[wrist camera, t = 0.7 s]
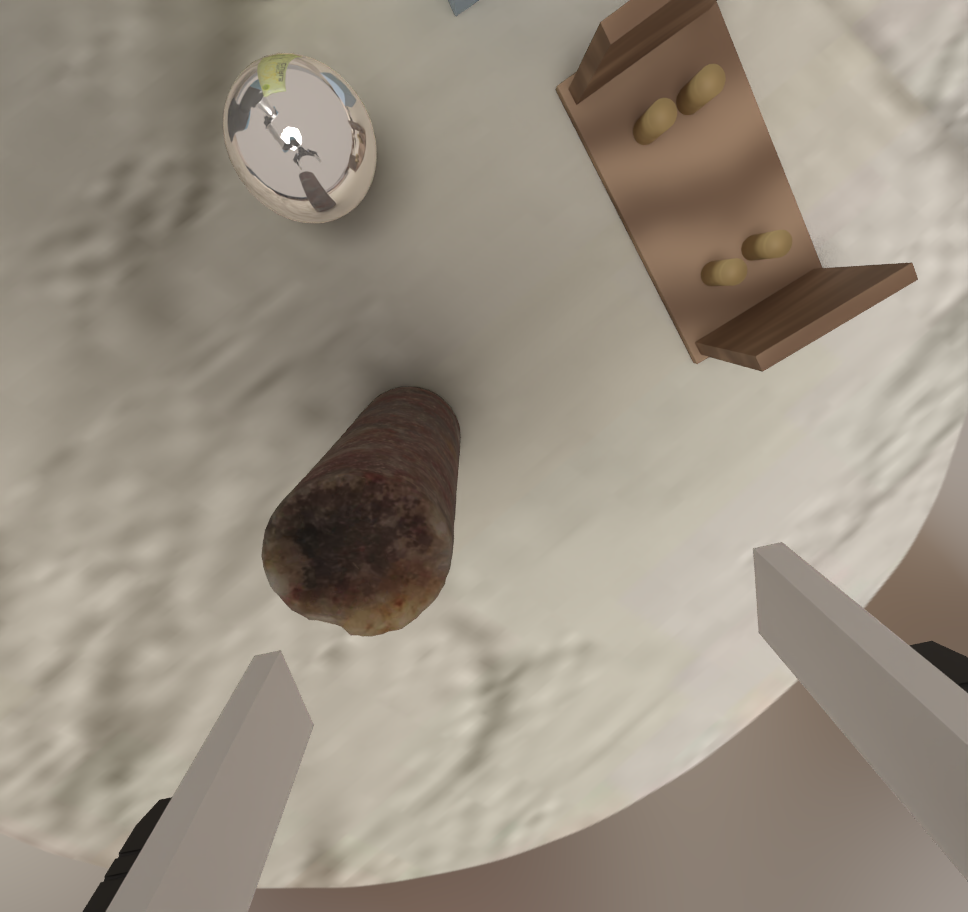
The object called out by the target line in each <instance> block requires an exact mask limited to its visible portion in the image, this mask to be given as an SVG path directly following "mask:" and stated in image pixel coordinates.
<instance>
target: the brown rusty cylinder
mask: <svg viewBox="0 0 968 912" xmlns="http://www.w3.org/2000/svg"><path fill="white" fill-rule="evenodd" d="M460 438H461V437H460V428H459V424H458V421H457V418H456V416H455V415H454V413H453V411H452V409H451V408H450V407H449V405H448V404H447V403H446V402H445V401H444V400H443V399H442V398H441V397H439V396H438V395H437V394H435V393H433V392H430V391H428V390H424V389H421V388H417V387H398V388H395V389H392V390H389V391H387V392H385V393H383V394H381V395H380V396H378V397H377V398H375V399H374V400H373V401H372V403H371V404H369V405H368V407H367V408H366V409H365V410H364V411H363V412H362V413H361V414H360V415H359V416H358V418H357V419H356V420H355V421H354V422H353V424H352V425H351V426H350V427H349V428H348V429H347V430H346V432H345V433H344V434H343V435H342V436H341V438H340V439H339V440H338V441H337V442H336V443H335V444H334V445H333V446H332V448H331V449H330V450H329V451H328V452H327V453H326V454H325V455H324V457H323V458H322V459H321V460H320V461H319V462H318V463H317V464H316V465H315V466H314V467H313V468H312V470H311V471H310V472H309V473H308V474H307V475H306V477H304V478H303V479H302V480H301V481H300V482H299V484H298V485H297V486H296V487H295V488H294V489H293V490H292V491H291V492H290V493H289V494H288V495H287V496H286V497H285V498H284V499H283V501H282V502H281V503H280V504H279V506H278V507H277V508H276V510H275V511H274V513H273V514H272V516H271V518H270V520H269V522H268V525H267V527H266V529H265V534H264V540H263V547H262V560H263V567H264V570H265V573H266V576H267V579H268V581H269V584H270V586H271V587H272V589H273V590H274V592H276V593H277V594H278V595H279V596H280V598H281V599H282V600H283V601H284V602H285V604H286V605H287V606H288V607H289V608H290V609H291V610H293V611H295V612H297V613H299V614H301V615H302V616H304V617H306V618H308V619H309V620H319V621H323V622H327V623H331V624H336V625H339V626H341V627H343V628H344V629H345V630H346V631H347V632H348V633H349V634H350V635H360V636H375V635H380V634H384V633H386V632H388V631H394V630H399V629H402V628H403V627H405V626H406V625H407V624H409V623H410V622H412V621H413V620H414V619H416V618H417V617H418V616H419V615H420V614H421V613H422V611H424V610H425V609H426V608H427V607H428V606H429V605H430V604H431V603H432V602H433V601H434V600H435V599H436V598H437V597H438V595H439V593H440V591H441V589H442V588H443V586H444V584H445V580H446V577H447V575H448V573H449V570H450V565H451V559H452V553H453V543H454V520H455V508H456V491H457V478H458V467H459V456H460Z"/></svg>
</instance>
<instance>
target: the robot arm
mask: <svg viewBox="0 0 968 912" xmlns="http://www.w3.org/2000/svg"><path fill="white" fill-rule="evenodd" d="M753 554H754V569H755V584H756V599H757V614H758V629H759V634H760V635H761V636H762V637H763V638H764V639H765V641H766V642H767V643H768V644H769V645H770V647H771V648H772V649H773V650H774V651H775V653H776V654H777V655H778V656H779V657H780V659H781V660H782V661H783V662H784V663H785V664H786V666H787V667H788V668H789V669H790V670H791V672H792V673H793V674H794V675H795V676H796V678H797V679H798V680H799V681H800V682H801V684H803V686H804V687H805V688H806V689H807V691H808V692H809V693H810V694H811V695H812V697H813V698H814V699H815V700H816V701H817V703H818V704H819V705H820V706H821V707H822V709H823V710H824V711H825V712H826V713H827V714H828V715H829V717H830V718H831V719H832V720H833V722H834V723H835V724H836V725H837V726H838V727H839V729H840V730H841V731H842V732H843V734H844V735H845V736H846V737H847V738H848V739H849V741H850V742H851V743H852V744H853V745H854V747H855V748H856V749H857V750H858V751H859V752H860V754H861V755H862V756H863V757H864V758H865V760H866V761H867V762H868V763H869V764H870V766H871V767H872V768H873V769H874V770H875V772H876V773H877V774H878V775H879V776H880V778H881V779H882V780H883V781H884V782H885V783H886V785H887V786H888V787H889V788H890V789H891V791H892V792H893V793H894V794H895V795H896V797H897V798H898V799H899V800H900V801H901V803H902V804H903V805H904V806H905V807H906V808H907V810H908V811H909V812H910V813H911V814H912V816H913V817H914V818H915V819H916V820H917V822H918V823H919V824H920V825H921V826H922V828H923V829H924V830H925V831H926V832H927V834H928V835H929V836H930V837H931V838H932V839H933V841H934V842H935V843H936V844H937V845H938V847H939V848H940V849H941V850H942V851H943V852H944V854H945V855H946V856H947V857H948V859H949V860H950V861H951V862H952V863H953V864H954V865H955V867H956V868H957V869H958V870H959V872H960V873H961V874H962V875H963V876H964V878H965V879H966V880H967V881H968V658H967V657H966V656H964V655H962V654H959V653H957V652H955V651H953V650H951V649H948V648H946V647H944V646H942V645H940V644H937V643H935V642H933V641H929V642H924V643H920V644H914V645H908V644H907V643H905V642H904V641H903V640H902V639H900V638H899V637H898V636H897V635H895V634H894V633H893V632H891V630H889V629H888V628H887V627H886V626H884V625H883V624H882V623H881V622H880V621H878V620H877V619H876V618H875V617H873V616H872V615H871V614H869V612H867V611H866V610H865V609H864V608H862V607H861V606H860V605H859V604H857V603H856V602H855V601H854V600H853V599H851V598H850V597H849V596H848V595H846V594H845V593H844V592H843V591H841V590H840V589H839V588H838V587H837V586H835V585H834V584H833V583H832V582H830V581H829V580H828V579H827V578H825V577H824V576H823V575H822V574H821V573H819V572H818V571H817V570H816V569H814V568H813V567H812V566H811V565H809V564H808V563H807V562H806V561H805V560H803V559H802V558H801V557H800V556H798V555H797V554H796V553H795V552H793V551H792V550H791V549H790V548H789V547H787V546H786V545H785V544H784V543H782V542H781V543H776V544H771V545H767V546H762V547H757V548H753ZM313 726H314V724H313V722H312V720H311V717H310V715H309V713H308V711H307V708H306V706H305V704H304V702H303V699H302V697H301V695H300V693H299V690H298V688H297V686H296V684H295V681H294V679H293V677H292V675H291V672H290V670H289V668H288V666H287V663H286V661H285V659H284V656H283V654H282V652H281V650H280V651H275V652H271V653H266V654H261V655H257V656H254V658H253V659H252V661H251V663H250V664H249V666H248V668H247V670H246V671H245V673H244V675H243V676H242V678H241V680H240V682H239V683H238V685H237V687H236V689H235V690H234V692H233V694H232V695H231V697H230V699H229V701H228V702H227V704H226V706H225V707H224V709H223V711H222V713H221V714H220V716H219V718H218V719H217V721H216V723H215V725H214V726H213V728H212V730H211V731H210V733H209V735H208V737H207V738H206V740H205V742H204V744H203V745H202V747H201V749H200V750H199V752H198V754H197V756H196V757H195V759H194V761H193V762H192V764H191V766H190V768H189V769H188V771H187V773H186V774H185V776H184V778H183V780H182V781H181V783H180V785H179V786H178V788H177V790H176V792H175V793H174V795H173V797H171V798H166V799H161V800H159V801H158V802H157V803H156V804H155V805H154V806H153V808H152V809H151V810H150V811H149V812H148V813H147V814H146V815H145V816H144V817H143V818H142V819H141V821H140V822H139V823H138V824H137V825H136V826H135V828H134V829H133V831H132V833H131V834H130V836H129V838H128V839H127V841H126V842H125V844H124V846H123V847H122V849H121V850H120V852H119V857H118V858H117V859H115V860H114V862H113V863H112V865H111V867H110V868H109V870H108V871H107V873H106V875H105V880H104V882H101V883H100V885H99V886H98V888H97V889H96V891H95V893H94V894H93V896H92V897H91V899H90V901H89V902H88V904H87V905H86V907H85V909H84V910H83V912H248V910H249V907H250V904H251V901H252V898H253V896H254V893H255V890H256V887H257V884H258V882H259V879H260V876H261V873H262V870H263V867H264V865H265V862H266V859H267V856H268V853H269V850H270V848H271V845H272V842H273V839H274V836H275V834H276V831H277V828H278V825H279V822H280V819H281V817H282V814H283V811H284V808H285V805H286V802H287V800H288V797H289V794H290V791H291V788H292V786H293V783H294V780H295V777H296V774H297V771H298V769H299V766H300V763H301V760H302V757H303V754H304V752H305V749H306V746H307V743H308V740H309V738H310V735H311V732H312V729H313Z"/></svg>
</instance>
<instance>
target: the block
mask: <svg viewBox="0 0 968 912" xmlns="http://www.w3.org/2000/svg"><path fill="white" fill-rule="evenodd" d="M477 1H479V0H448V2H449V4H450V6H451V8H452V10H453V12H454V14H455V16H457V15H458V14H460V13H461V12H463V11H464V10H466V9H467V8H469V7H470V6H471V5H473V4H474V3H476V2H477Z"/></svg>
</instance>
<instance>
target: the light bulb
mask: <svg viewBox="0 0 968 912" xmlns="http://www.w3.org/2000/svg"><path fill="white" fill-rule="evenodd" d="M223 134H224V141H225V146H226V149H227V152H228V155H229V158H230V161H231V163H232V165H233V167H234V169H235V171H236V173H237V174H238V176H239V178H240V180H241V181H242V182H243V184H244V185H245V186H246V188H247V189H248V191H249V192H250V193H251V194H252V195H253V196H254V197H255V198H256V199H257V200H258V201H259V202H261V203H262V204H263V205H265V206H266V207H268V208H269V209H271V210H272V211H274V212H275V213H277V214H278V215H281V216H283V217H285V218H288V219H290V220H294V221H298V222H303V223H325V222H330V221H334V220H336V219H338V218H341V217H343V216H345V215H347V214H348V213H349V212H350V211H352V210H353V209H354V208H356V207H357V205H358V204H359V203H360V202H361V201H362V199H363V198H364V197H365V195H366V193H367V192H368V190H369V188H370V186H371V183H372V180H373V177H374V174H375V169H376V161H377V149H376V139H375V135H374V130H373V126H372V123H371V120H370V117H369V115H368V113H367V110H366V108H365V106H364V104H363V102H362V101H361V99H360V98H359V96H358V95H357V93H356V92H355V90H354V89H353V88H352V87H351V86H350V85H349V84H348V83H347V82H346V81H345V79H344V78H343V77H342V76H341V75H340V74H338V73H337V72H336V71H334V70H333V69H332V68H330V67H329V66H328V65H326V64H324V63H322V62H320V61H318V60H316V59H314V58H310V57H307V56H303V55H299V54H295V53H276V54H272V55H267V56H264V57H262V58H260V59H258V60H256V61H254V62H252V63H251V64H250V65H249V66H247V67H246V68H245V69H244V70H243V71H242V72H241V73H240V74H239V76H238V77H237V78H236V80H235V81H234V82H233V84H232V86H231V88H230V91H229V93H228V95H227V98H226V102H225V107H224V111H223Z"/></svg>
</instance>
